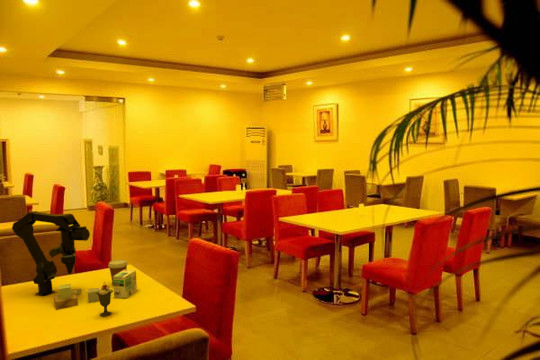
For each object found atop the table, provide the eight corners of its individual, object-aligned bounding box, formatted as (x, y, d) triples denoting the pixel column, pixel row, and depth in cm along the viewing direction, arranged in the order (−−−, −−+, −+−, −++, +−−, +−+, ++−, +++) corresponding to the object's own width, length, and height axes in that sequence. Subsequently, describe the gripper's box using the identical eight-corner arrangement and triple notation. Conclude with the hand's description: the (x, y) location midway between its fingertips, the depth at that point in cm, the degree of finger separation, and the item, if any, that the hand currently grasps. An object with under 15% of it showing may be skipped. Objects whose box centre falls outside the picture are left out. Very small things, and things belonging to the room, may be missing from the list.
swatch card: (63, 297, 201) (63, 296, 201) (63, 291, 208) (63, 290, 208) (81, 294, 204) (81, 293, 204) (80, 288, 211) (80, 288, 211)
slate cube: (88, 303, 193) (87, 292, 193) (88, 299, 198) (87, 289, 197) (100, 301, 195) (99, 291, 195) (99, 297, 200) (98, 287, 199)
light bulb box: (126, 298, 197) (124, 276, 196) (113, 297, 199) (112, 276, 198) (137, 290, 208) (136, 269, 207) (125, 289, 209) (124, 269, 208)
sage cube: (59, 299, 188) (58, 289, 188) (59, 296, 193) (58, 285, 192) (71, 297, 190) (70, 287, 190) (71, 294, 195) (70, 283, 194)
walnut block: (56, 310, 186) (55, 302, 185) (54, 304, 193) (53, 295, 193) (78, 306, 191) (77, 297, 190) (75, 299, 198) (74, 291, 198)
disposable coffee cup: (124, 287, 213) (123, 264, 212) (106, 287, 213) (105, 264, 212) (131, 280, 222) (130, 259, 221) (113, 281, 222) (112, 259, 221)
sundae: (104, 318, 176) (102, 284, 174) (94, 315, 179) (92, 281, 178) (117, 313, 181) (115, 279, 180) (107, 309, 185) (105, 277, 183)
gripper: (50, 237, 206) (52, 268, 207) (47, 246, 189) (50, 279, 190) (74, 235, 210) (76, 265, 212) (74, 243, 194) (76, 275, 195)
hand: (69, 271), depth 202 cm, fingers open, 9 cm apart
